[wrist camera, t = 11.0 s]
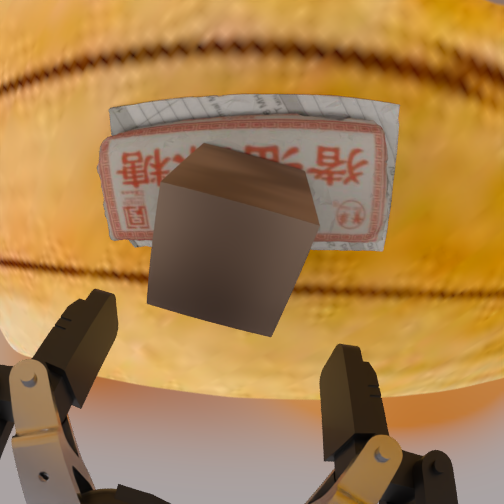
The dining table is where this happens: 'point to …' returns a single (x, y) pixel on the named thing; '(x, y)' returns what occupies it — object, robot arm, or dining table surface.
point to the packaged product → (263, 146)
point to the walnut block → (230, 238)
